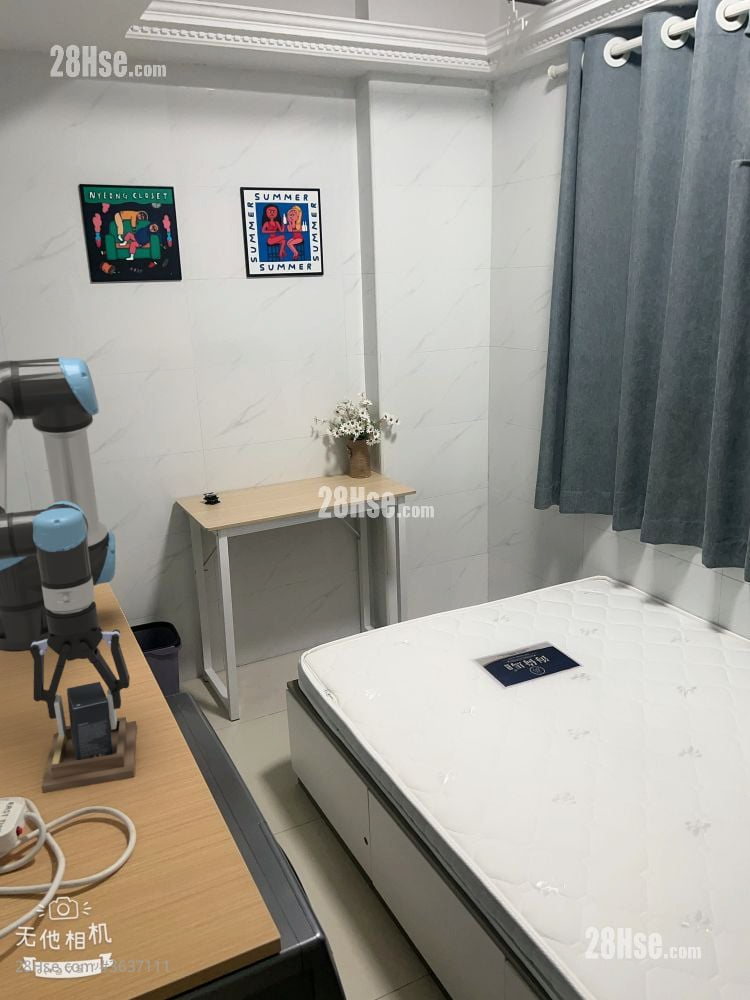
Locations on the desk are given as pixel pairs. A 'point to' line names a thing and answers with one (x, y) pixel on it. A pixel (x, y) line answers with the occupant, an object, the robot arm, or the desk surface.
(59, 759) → the socket
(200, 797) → the desk surface
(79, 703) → the box
